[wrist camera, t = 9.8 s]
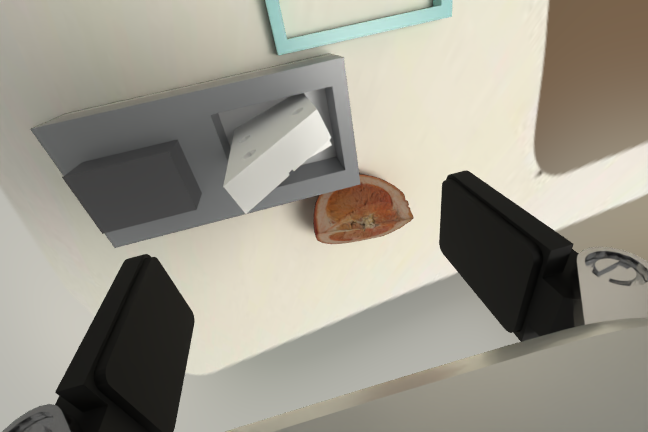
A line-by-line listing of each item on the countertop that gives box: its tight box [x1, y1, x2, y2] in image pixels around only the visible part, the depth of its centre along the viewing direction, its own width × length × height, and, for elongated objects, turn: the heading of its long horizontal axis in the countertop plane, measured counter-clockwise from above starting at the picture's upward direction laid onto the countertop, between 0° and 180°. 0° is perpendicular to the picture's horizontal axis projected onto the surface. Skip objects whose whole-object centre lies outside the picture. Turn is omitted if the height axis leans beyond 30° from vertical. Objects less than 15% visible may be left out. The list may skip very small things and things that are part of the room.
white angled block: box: [223, 93, 332, 214], centre depth 20 cm, size 4×10×9 cm
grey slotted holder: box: [31, 54, 360, 248], centre depth 22 cm, size 9×19×6 cm, turn 100°
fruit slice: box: [314, 174, 413, 244], centre depth 27 cm, size 8×7×5 cm
